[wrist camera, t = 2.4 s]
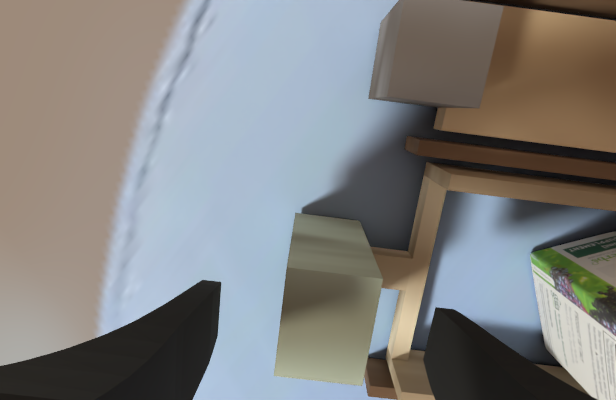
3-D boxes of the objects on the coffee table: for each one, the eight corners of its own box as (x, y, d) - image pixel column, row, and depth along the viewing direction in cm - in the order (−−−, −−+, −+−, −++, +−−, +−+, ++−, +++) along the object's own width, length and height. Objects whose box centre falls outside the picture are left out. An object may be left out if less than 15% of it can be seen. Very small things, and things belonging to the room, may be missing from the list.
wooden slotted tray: (650, 387, 19) (791, 506, 13) (279, 344, 19) (265, 448, 13) (732, 200, 16) (951, 250, 11) (303, 146, 16) (298, 168, 10)
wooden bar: (745, 169, 16) (884, 189, 12) (365, 119, 16) (382, 125, 12) (797, 53, 15) (968, 35, 11) (384, -3, 14) (411, -42, 11)
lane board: (670, 402, 20) (710, 435, 18) (362, 366, 19) (368, 396, 17) (841, 32, 15) (921, 22, 13) (437, -23, 14) (456, -42, 13)
